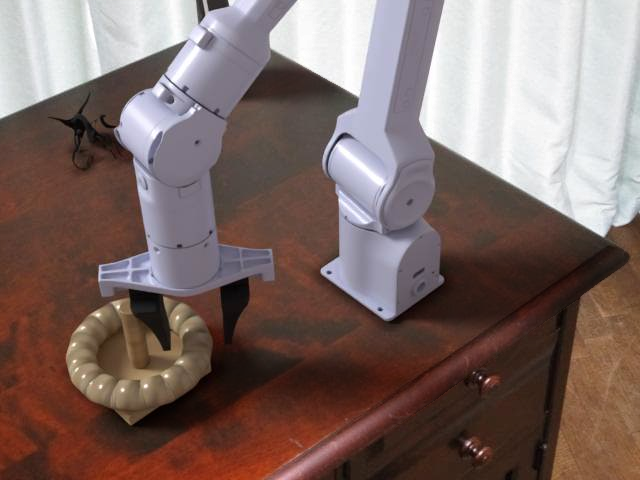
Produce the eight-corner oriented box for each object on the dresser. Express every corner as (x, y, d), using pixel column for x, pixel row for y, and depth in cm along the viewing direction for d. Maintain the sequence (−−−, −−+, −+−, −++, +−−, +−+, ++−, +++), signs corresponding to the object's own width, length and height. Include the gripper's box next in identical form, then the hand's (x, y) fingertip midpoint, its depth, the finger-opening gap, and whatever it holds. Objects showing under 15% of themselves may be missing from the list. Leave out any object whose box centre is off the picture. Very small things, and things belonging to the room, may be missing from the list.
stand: (211, 371, 104) (203, 307, 98) (130, 426, 99) (117, 362, 94) (151, 319, 108) (140, 256, 103) (71, 369, 104) (56, 306, 98)
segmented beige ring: (242, 362, 103) (240, 342, 101) (125, 441, 96) (120, 421, 95) (155, 289, 110) (152, 269, 108) (41, 359, 103) (36, 339, 102)
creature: (144, 151, 130) (94, 113, 132) (146, 117, 126) (95, 79, 128) (92, 186, 125) (42, 146, 128) (92, 152, 121) (40, 111, 124)
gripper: (266, 185, 96) (274, 299, 105) (91, 201, 95) (116, 315, 104) (272, 242, 91) (281, 356, 100) (88, 259, 90) (114, 373, 99)
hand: (197, 339), depth 102 cm, fingers open, 5 cm apart
